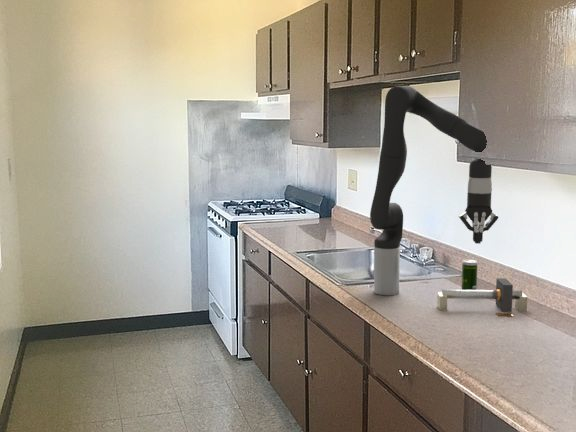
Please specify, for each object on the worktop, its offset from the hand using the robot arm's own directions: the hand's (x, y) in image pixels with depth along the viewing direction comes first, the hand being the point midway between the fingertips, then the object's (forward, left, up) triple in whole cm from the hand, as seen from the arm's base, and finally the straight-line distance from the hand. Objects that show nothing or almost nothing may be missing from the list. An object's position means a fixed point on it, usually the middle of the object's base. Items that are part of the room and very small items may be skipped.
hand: (477, 243), depth 214 cm
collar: (0, +9, -23) cm, 24 cm away
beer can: (-20, +2, -23) cm, 30 cm away
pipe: (+3, +2, -22) cm, 23 cm away
